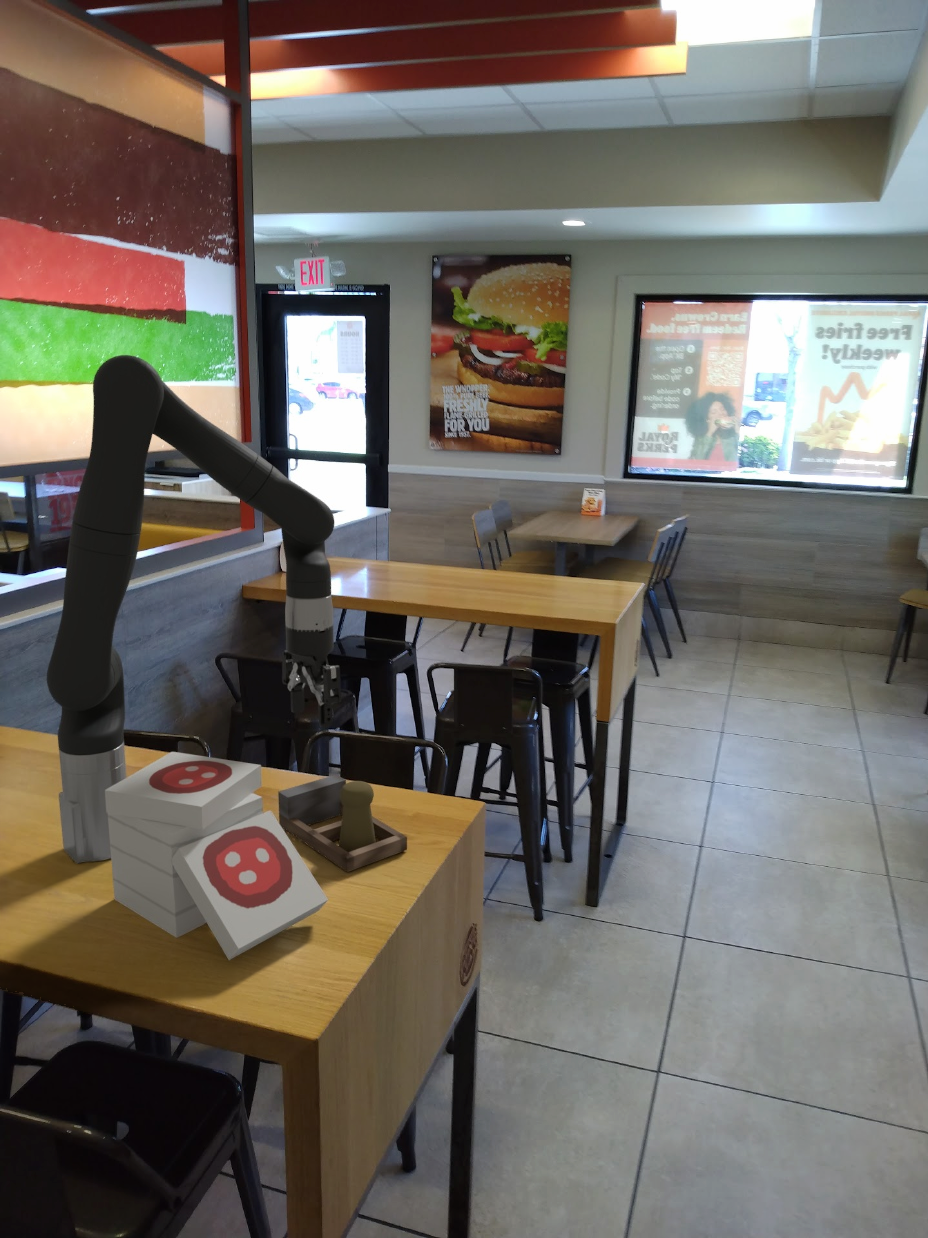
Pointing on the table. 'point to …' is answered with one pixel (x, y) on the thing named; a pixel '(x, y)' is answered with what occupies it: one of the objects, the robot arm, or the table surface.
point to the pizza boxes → (206, 852)
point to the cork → (356, 816)
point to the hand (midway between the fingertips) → (311, 719)
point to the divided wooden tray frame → (325, 803)
